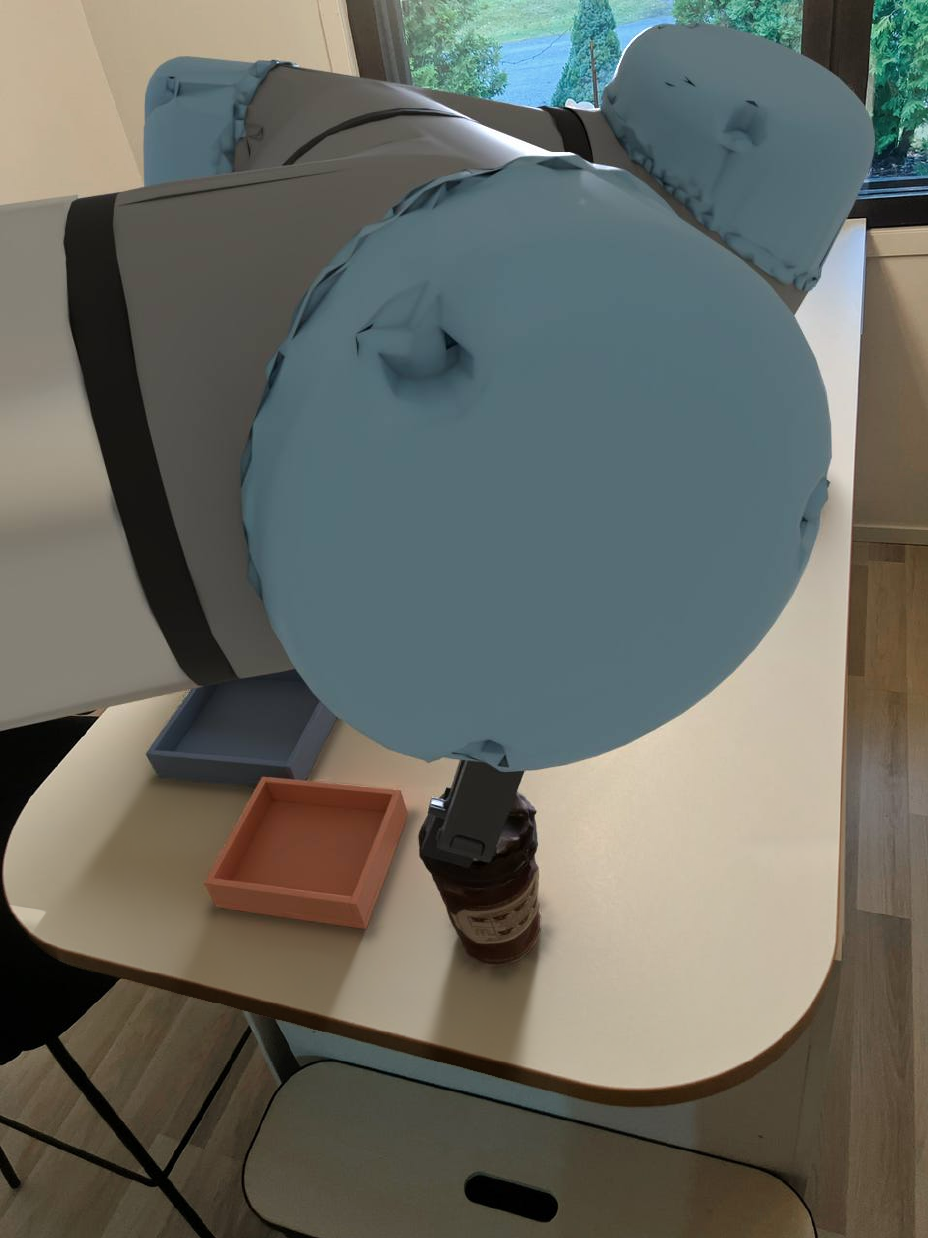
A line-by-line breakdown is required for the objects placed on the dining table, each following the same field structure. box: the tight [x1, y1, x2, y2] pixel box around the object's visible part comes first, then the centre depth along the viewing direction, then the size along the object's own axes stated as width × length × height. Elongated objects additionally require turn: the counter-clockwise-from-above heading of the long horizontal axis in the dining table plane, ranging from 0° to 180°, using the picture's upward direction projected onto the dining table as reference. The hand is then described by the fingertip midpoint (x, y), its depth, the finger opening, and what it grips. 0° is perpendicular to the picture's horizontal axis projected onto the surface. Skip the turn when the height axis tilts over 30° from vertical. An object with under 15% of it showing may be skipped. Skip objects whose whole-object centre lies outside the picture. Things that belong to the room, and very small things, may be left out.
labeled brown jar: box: [417, 790, 543, 966], centre depth 61 cm, size 9×8×13 cm
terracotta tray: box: [203, 777, 409, 930], centre depth 72 cm, size 13×11×3 cm
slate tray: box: [145, 669, 338, 788], centre depth 86 cm, size 15×14×3 cm
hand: (470, 748), depth 51 cm, fingers open, 13 cm apart
